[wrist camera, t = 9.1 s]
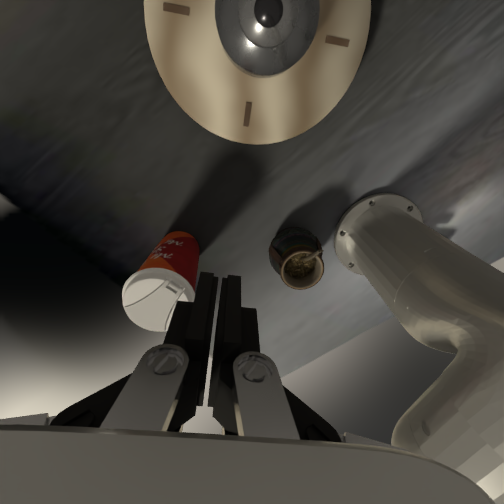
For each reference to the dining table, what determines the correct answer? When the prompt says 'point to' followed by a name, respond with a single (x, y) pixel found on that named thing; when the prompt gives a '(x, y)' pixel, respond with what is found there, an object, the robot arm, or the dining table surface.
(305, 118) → the turntable
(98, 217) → the dining table surface
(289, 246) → the mate gourd
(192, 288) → the paper cup
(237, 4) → the cover
